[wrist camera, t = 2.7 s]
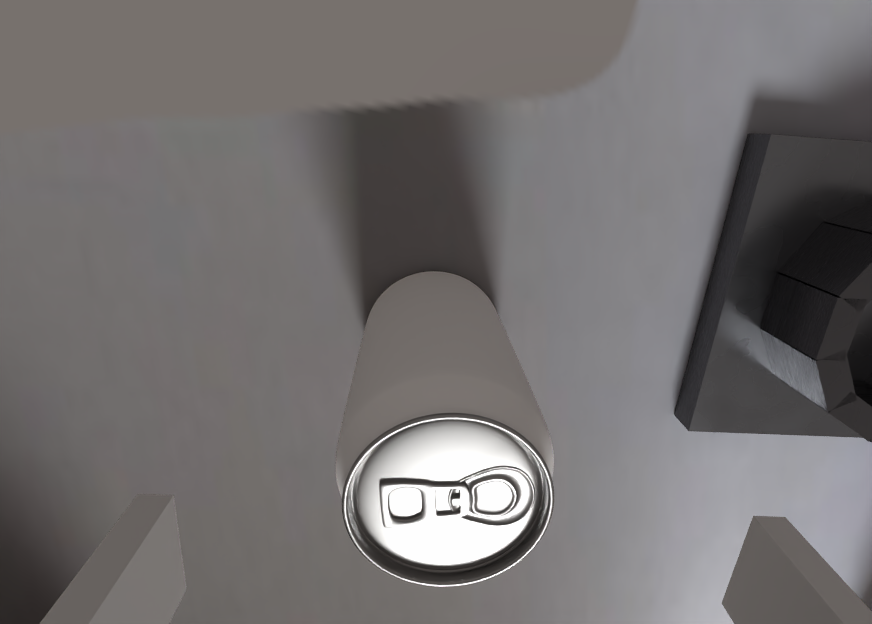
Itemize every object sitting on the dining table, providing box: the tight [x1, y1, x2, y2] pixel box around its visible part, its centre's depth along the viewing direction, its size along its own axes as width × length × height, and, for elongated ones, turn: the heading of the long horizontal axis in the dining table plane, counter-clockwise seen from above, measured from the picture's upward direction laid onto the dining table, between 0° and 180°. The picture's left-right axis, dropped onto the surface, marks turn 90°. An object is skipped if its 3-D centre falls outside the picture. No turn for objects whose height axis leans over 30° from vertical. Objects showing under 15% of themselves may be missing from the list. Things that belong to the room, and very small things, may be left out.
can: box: [335, 271, 554, 587], centre depth 19 cm, size 6×6×12 cm
